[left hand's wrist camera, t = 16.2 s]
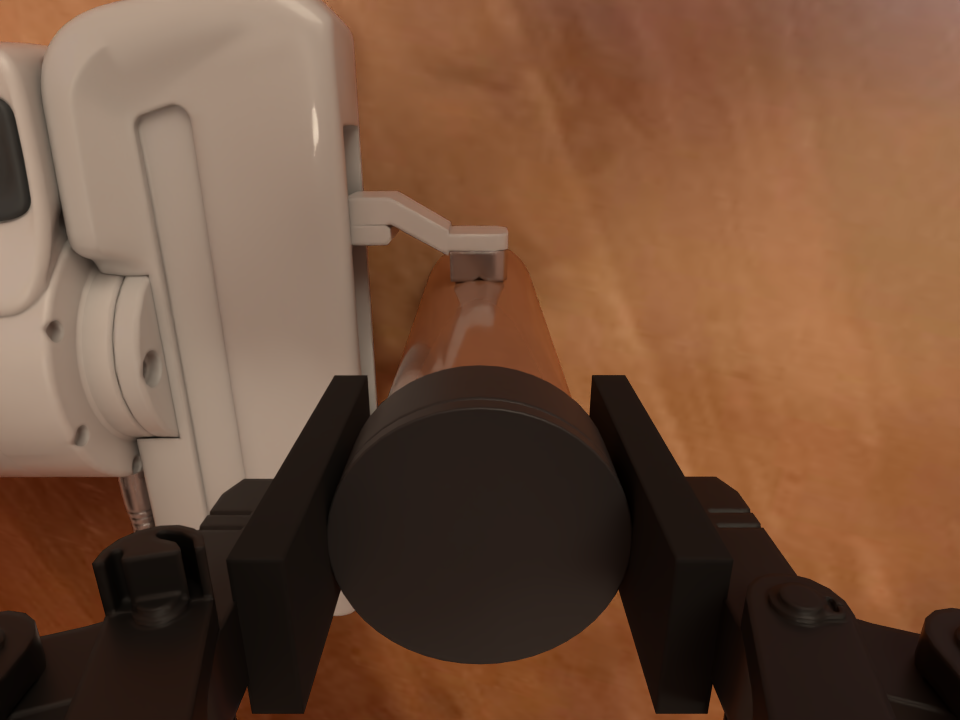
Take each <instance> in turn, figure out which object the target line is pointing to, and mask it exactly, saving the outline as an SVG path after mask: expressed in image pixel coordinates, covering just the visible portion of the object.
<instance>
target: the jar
mask: <svg viewBox="0 0 960 720" xmlns="http://www.w3.org/2000/svg"><path fill="white" fill-rule="evenodd" d="M474 365H485V366H499V367H505V368H510V369H515V370H519V371H522V372H525V373H528V374H531V375H534V376H536V377H539V378H541V379H543V380H545V381H547V382H549V383H551V384H553V385H554V386H556V387H557V388H559V389H560V390H562V391H564V392H565V393H566V394H567V395H569V396H570V397H571V394H570V391H569V389H568V386H567V383H566V380H565V377H564V374H563V371H562V368H561V365H560V362H559V359H558V356H557V353H556V350H555V348H554V345H553V342H552V339H551V336H550V333H549V330H548V327H547V324H546V321H545V318H544V315H543V312H542V310H541V307H540V304H539V301H538V298H537V295H536V292H535V289H534V286H533V283H532V280H531V277H530V275H529V272H528V270H527V268H526V267H525V265H524V264H523V262H522V261H521V260H520V259H519V258H518V257H517V256H516V255H515V254H514V253H513V252H512V251H510V250H509V249H508V265H507V280H504V281H498V282H489V281H485V280H483V279H482V278H480V277H478V278H477V279H475V280H474V281H470V282H451V278H450V253H449V255H446V254H444V255H443V256H442V257H441V258H440V259H439V260H438V261H437V263H436V264H435V266H434V267H433V269H432V271H431V273H430V276H429V278H428V281H427V284H426V287H425V290H424V293H423V296H422V299H421V302H420V305H419V308H418V310H417V313H416V316H415V319H414V322H413V325H412V328H411V331H410V334H409V337H408V340H407V342H406V345H405V348H404V351H403V354H402V357H401V360H400V363H399V366H398V369H397V372H396V375H395V377H394V380H393V383H392V386H391V389H390V392H389V395H388V397H389V396H391V395H392V394H393V393H394V392H396V391H397V390H399V389H400V388H402V387H403V386H405V385H407V384H408V383H410V382H412V381H414V380H416V379H419V378H421V377H423V376H425V375H428V374H431V373H434V372H437V371H440V370H444V369H449V368H455V367H460V366H474ZM571 398H572V397H571Z"/></svg>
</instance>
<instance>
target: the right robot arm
mask: <svg viewBox="0 0 960 720" xmlns="http://www.w3.org/2000/svg"><path fill="white" fill-rule="evenodd" d="M399 229H400V230H401V231H403V232H405V233H407V234H409V235H411V236H413V237H414V238H416V239H418V240H420V241H422V242H424V243H425V244H427V245H429V246H431V247H433V248H435V249H437V250H438V251H440V252H442V253H444V254H446V255H449V253H450V278H451V282H470V281H474V280H475V279H477V278H478V277H480V278H482V279H483V280H485V281H489V282H498V281H504V280H507V265H508V230H507V228H506V227H501V226H451V222H450V221H449V220H447V219H445V218H444V217H442V216H440V215H438V214H437V213H435V212H433V211H432V210H430V209H428V208H426V207H425V206H423V205H421V204H420V203H418V202H416V201H414V200H413V199H411V198H409V197H408V196H406V195H404V194H402V193H401V192H399V191H364V190H363V174H362V159H361V144H360V129H359V113H358V98H357V83H356V68H355V52H354V40H353V36H352V33H351V31H350V29H349V28H348V26H347V25H346V24H345V23H344V22H343V21H342V20H341V19H340V18H339V17H338V16H337V15H336V14H335V12H334V11H333V10H332V9H331V8H330V7H328V6H327V5H326V4H325V3H324V2H323V1H322V0H122V1H117V2H113V3H109V4H105V5H101V6H98V7H95V8H93V9H90V10H88V11H85V12H83V13H81V14H79V15H77V16H76V17H74V18H73V19H71V20H70V21H68V22H67V23H66V24H65V25H64V26H63V27H62V28H61V29H60V30H59V31H58V32H57V33H56V34H55V36H54V37H53V39H52V40H51V42H50V44H49V46H45V45H39V44H31V43H16V42H0V477H117V479H118V483H119V487H120V491H121V496H122V500H123V503H124V506H125V509H126V511H127V513H128V516H129V518H130V521H131V525H132V528H133V533H134V532H137V531H139V530H143V529H147V528H152V527H156V526H160V525H182V526H186V527H191V528H194V529H196V530H199V528H200V525H201V523H202V522H203V520H204V519H205V518H206V516H207V515H210V511H211V509H212V508H213V506H214V505H215V503H216V502H217V501H218V499H219V498H220V496H221V495H222V494H223V493H224V492H226V491H227V490H229V489H230V488H231V487H233V486H234V485H236V484H237V483H239V482H240V481H241V480H243V479H274V477H275V476H276V474H277V472H278V470H279V469H280V467H281V465H282V464H283V462H284V460H285V459H286V457H287V455H288V453H289V452H290V450H291V448H292V447H293V445H294V443H295V442H296V440H297V438H298V437H299V435H300V433H301V431H302V430H303V428H304V426H305V425H306V423H307V421H308V420H309V418H310V416H311V414H312V413H313V411H314V409H315V408H316V406H317V404H318V403H319V401H320V399H321V397H322V396H323V394H324V392H325V391H326V389H327V387H328V386H329V384H330V382H331V380H332V379H333V377H334V375H368V390H369V405H370V415H371V414H372V413H373V412H374V411H375V410H376V409H377V408H378V403H377V388H376V372H375V357H374V342H373V327H372V312H371V296H370V281H369V266H368V251H367V245H388V244H389V242H390V241H391V240H392V239H393V238H394V236H395V235H396V234H397V233H398V232H399ZM354 611H355V610H354V609H353V607H352V606H351V604H350V603H349V602H348V600H347V599H346V597H345V596H344V595H343V593H342V591H341V592H340V595H339V598H338V601H337V605H336V608H335V611H334V615H333V616H343V615H348V614H350V613H352V612H354Z"/></svg>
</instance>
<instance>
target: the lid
mask: <svg viewBox="0 0 960 720" xmlns="http://www.w3.org/2000/svg"><path fill="white" fill-rule="evenodd" d="M632 532H633V528H632V521H631V513H630V509H629V506H628V503H627V499H626V496H625V493H624V491H623V488H622V486H621V483H620V481H619V478H618V476H617V473H616V471H615V468H614V466H613V463H612V461H611V458H610V455H609V453H608V450H607V448H606V445H605V443H604V441H603V439H602V437H601V435H600V432H599V430H598V428H597V427H596V425H595V424H594V422H593V421H592V420H591V418H590V417H589V415H588V414H587V413H586V412H585V411H584V410H583V409H582V407H581V406H580V405H579V404H578V403H577V402H576V401H575V400H573V399H572V398H571V397H570V396H569V395H567V394H566V393H565V392H564V391H562V390H560V389H559V388H557V387H556V386H554V385H553V384H551V383H549V382H547V381H545V380H543V379H541V378H539V377H536V376H534V375H531V374H528V373H525V372H522V371H519V370H515V369H510V368H505V367H499V366H485V365H474V366H460V367H455V368H449V369H444V370H440V371H437V372H434V373H431V374H428V375H425V376H423V377H421V378H419V379H416V380H414V381H412V382H410V383H408V384H407V385H405V386H403V387H402V388H400V389H399V390H397V391H396V392H394V393H393V394H392V395H391V396H389V397H388V398H387V399H386V400H385V401H383V402H382V403H381V404H380V405H379V406H378V408H377V409H376V410H375V411H374V412H373V413H372V414H371V415H370V417H369V418H368V420H367V421H366V423H365V424H364V426H363V427H362V429H361V431H360V433H359V435H358V437H357V439H356V441H355V443H354V446H353V448H352V451H351V453H350V456H349V458H348V461H347V463H346V466H345V468H344V471H343V473H342V476H341V478H340V481H339V484H338V486H337V488H336V491H335V493H334V496H333V499H332V503H331V506H330V509H329V514H328V521H327V540H328V550H329V559H330V564H331V567H332V570H333V573H334V576H335V579H336V581H337V583H338V585H339V587H340V589H341V591H342V593H343V595H344V596H345V597H346V599H347V600H348V602H349V603H350V604H351V606H352V607H353V609H354V610H355V611H356V612H357V613H358V614H359V615H360V616H361V617H362V618H363V619H364V620H365V621H366V622H367V623H368V624H369V625H370V626H372V627H373V628H374V629H375V630H376V631H378V632H379V633H380V634H382V635H384V636H385V637H387V638H388V639H390V640H391V641H393V642H395V643H397V644H399V645H401V646H403V647H404V648H406V649H408V650H411V651H414V652H416V653H419V654H422V655H424V656H428V657H432V658H435V659H439V660H443V661H450V662H456V663H465V664H494V663H503V662H510V661H516V660H520V659H524V658H528V657H531V656H535V655H537V654H540V653H543V652H545V651H548V650H551V649H553V648H555V647H557V646H559V645H561V644H563V643H565V642H567V641H568V640H570V639H571V638H573V637H574V636H576V635H577V634H579V633H580V632H582V631H583V630H584V629H585V628H586V627H588V626H589V625H590V624H591V623H592V622H593V621H595V620H596V618H597V617H598V616H599V615H600V614H601V613H602V612H603V611H604V610H605V609H606V608H607V606H608V605H609V603H610V602H611V600H612V599H613V598H614V596H615V595H616V593H617V591H618V589H619V587H620V585H621V583H622V581H623V579H624V576H625V574H626V571H627V568H628V565H629V561H630V555H631V546H632Z"/></svg>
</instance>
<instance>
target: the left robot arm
mask: <svg viewBox="0 0 960 720" xmlns="http://www.w3.org/2000/svg"><path fill="white" fill-rule="evenodd" d="M369 417H370V405H369V390H368V375H334V377H333V379H332V380H331V382H330V384H329V386H328V387H327V389H326V391H325V392H324V394H323V396H322V397H321V399H320V401H319V403H318V404H317V406H316V408H315V409H314V411H313V413H312V414H311V416H310V418H309V420H308V421H307V423H306V425H305V426H304V428H303V430H302V431H301V433H300V435H299V437H298V438H297V440H296V442H295V443H294V445H293V447H292V448H291V450H290V452H289V453H288V455H287V457H286V459H285V460H284V462H283V464H282V465H281V467H280V469H279V470H278V472H277V474H276V476H275V477H274V479H243V480H241V481H240V482H239V483H237V484H236V485H234V486H233V487H231V488H230V489H229V490H227V491H226V492H224V493H223V494H222V495H221V496H220V498H219V499H218V501H217V502H216V503H215V505H214V506H213V508H212V509H211V511H210V515H207V516H206V518H205V519H204V520H203V522H202V523H201V525H200V528H199V530H196V529H194V528H191V527H186V526H182V525H160V526H156V527H152V528H147V529H143V530H139V531H137V532H134V533H132V534H130V535H127V536H125V537H123V538H121V539H118V540H117V541H116V542H114V543H113V544H111V545H110V546H108V547H107V548H106V549H104V550H103V551H102V552H101V553H100V554H99V556H98V557H97V558H96V559H95V561H94V562H93V563H92V566H93V569H94V573H95V577H96V581H97V585H98V589H99V592H100V596H101V600H102V604H103V608H104V612H105V615H106V616H105V619H104V621H103V622H100V623H97V624H93V625H90V626H86V627H81V628H77V629H73V630H68V631H64V632H59V633H55V634H50V635H46V636H41V637H40V636H39V633H38V629H37V626H36V623H35V621H34V620H33V619H32V618H31V617H29V616H28V615H27V614H26V613H21V612H14V611H3V612H0V720H237V718H236V712H237V709H238V707H239V705H240V702H241V700H242V698H243V695H244V693H245V690H246V688H247V687H248V693H249V698H250V704H251V710H252V714H304V711H305V708H306V705H307V701H308V698H309V695H310V691H311V688H312V685H313V681H314V678H315V675H316V671H317V668H318V665H319V661H320V658H321V655H322V651H323V648H324V645H325V641H326V638H327V635H328V631H329V628H330V625H331V621H332V618H333V615H334V611H335V608H336V605H337V601H338V598H339V595H340V592H341V589H340V587H339V585H338V583H337V581H336V579H335V576H334V573H333V570H332V567H331V564H330V559H329V550H328V540H327V521H328V514H329V509H330V506H331V503H332V499H333V496H334V493H335V491H336V488H337V486H338V484H339V481H340V478H341V476H342V473H343V471H344V468H345V466H346V463H347V461H348V458H349V456H350V453H351V451H352V448H353V446H354V443H355V441H356V439H357V437H358V435H359V433H360V431H361V429H362V427H363V426H364V424H365V423H366V421H367V420H368V418H369ZM589 417H590V418H591V420H592V421H593V422H594V424H595V425H596V427H597V428H598V430H599V432H600V435H601V437H602V439H603V441H604V443H605V445H606V448H607V450H608V453H609V455H610V458H611V461H612V463H613V466H614V468H615V471H616V473H617V476H618V478H619V481H620V483H621V486H622V488H623V491H624V493H625V496H626V499H627V503H628V506H629V509H630V513H631V521H632V528H633V532H632V546H631V555H630V561H629V565H628V568H627V571H626V574H625V576H624V579H623V581H622V583H621V585H620V587H619V593H620V596H621V599H622V603H623V606H624V609H625V613H626V616H627V619H628V623H629V626H630V629H631V633H632V636H633V639H634V643H635V646H636V649H637V653H638V656H639V659H640V663H641V666H642V669H643V673H644V676H645V679H646V682H647V686H648V689H649V692H650V696H651V699H652V702H653V706H654V709H655V712H656V714H708V708H709V702H710V696H711V690H712V684H713V686H714V688H715V691H716V693H717V695H718V698H719V700H720V702H721V705H722V707H723V710H724V712H725V713H724V718H723V720H960V609H956V608H948V609H941V610H935V611H934V612H932V613H931V614H930V615H929V616H927V617H926V618H925V621H924V625H923V628H922V631H921V634H917V633H913V632H908V631H904V630H899V629H895V628H890V627H886V626H881V625H877V624H872V623H869V622H866V621H862V620H859V619H856V618H855V615H854V614H853V612H852V611H851V609H850V608H849V606H848V605H847V603H846V602H845V601H844V600H843V599H842V598H840V597H839V596H838V595H837V594H835V593H834V592H833V591H832V590H830V589H829V588H827V587H825V586H823V585H821V584H819V583H817V582H815V581H813V580H811V579H807V578H804V577H800V576H797V575H796V573H795V572H794V570H793V569H792V568H791V566H790V565H789V563H788V562H787V561H786V559H785V558H784V556H783V555H782V554H781V552H780V551H779V549H778V548H777V547H776V545H775V544H774V542H773V541H772V539H771V538H770V537H769V535H768V534H767V532H766V531H765V530H764V528H761V526H760V523H759V521H758V520H757V518H756V517H755V516H754V514H753V513H750V508H749V507H748V506H747V504H746V503H745V501H744V500H743V499H742V497H741V496H740V494H739V493H738V492H737V491H736V490H734V489H733V488H731V487H730V486H729V485H727V484H726V483H724V482H723V481H721V480H720V479H718V478H717V477H685V476H684V475H683V473H682V471H681V469H680V468H679V466H678V464H677V463H676V461H675V459H674V458H673V456H672V454H671V452H670V451H669V449H668V447H667V446H666V444H665V442H664V441H663V439H662V437H661V435H660V434H659V432H658V430H657V429H656V427H655V425H654V424H653V422H652V420H651V418H650V417H649V415H648V413H647V412H646V410H645V408H644V407H643V405H642V403H641V401H640V400H639V398H638V396H637V395H636V393H635V391H634V390H633V388H632V386H631V384H630V383H629V381H628V379H627V378H626V376H625V375H592V385H591V400H590V415H589Z"/></svg>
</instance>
